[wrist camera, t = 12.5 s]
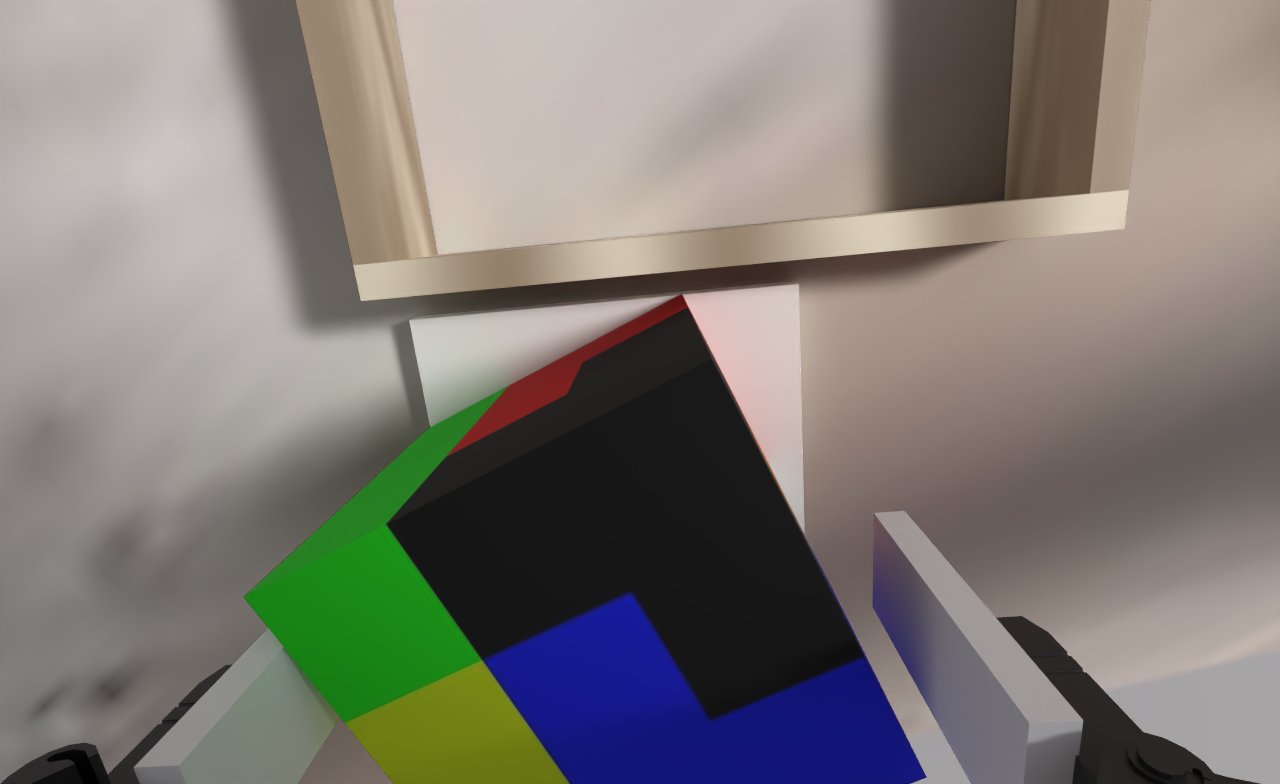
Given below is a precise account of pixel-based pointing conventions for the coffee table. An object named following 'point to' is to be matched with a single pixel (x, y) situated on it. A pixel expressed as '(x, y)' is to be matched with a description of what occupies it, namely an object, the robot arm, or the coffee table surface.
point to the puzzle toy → (587, 593)
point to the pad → (540, 334)
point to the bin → (1032, 207)
